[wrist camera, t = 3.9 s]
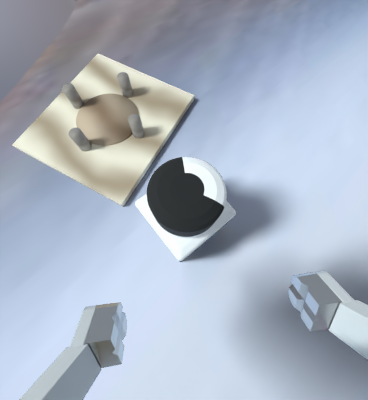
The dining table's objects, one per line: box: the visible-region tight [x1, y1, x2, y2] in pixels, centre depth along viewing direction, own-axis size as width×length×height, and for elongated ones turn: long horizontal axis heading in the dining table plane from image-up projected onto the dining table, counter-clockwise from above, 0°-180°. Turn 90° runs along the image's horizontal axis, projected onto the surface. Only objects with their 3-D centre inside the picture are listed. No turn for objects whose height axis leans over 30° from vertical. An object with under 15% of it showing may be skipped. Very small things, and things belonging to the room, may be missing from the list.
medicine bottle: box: [135, 157, 236, 262], centre depth 20 cm, size 7×7×12 cm
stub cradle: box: [13, 54, 194, 207], centre depth 28 cm, size 20×18×4 cm
